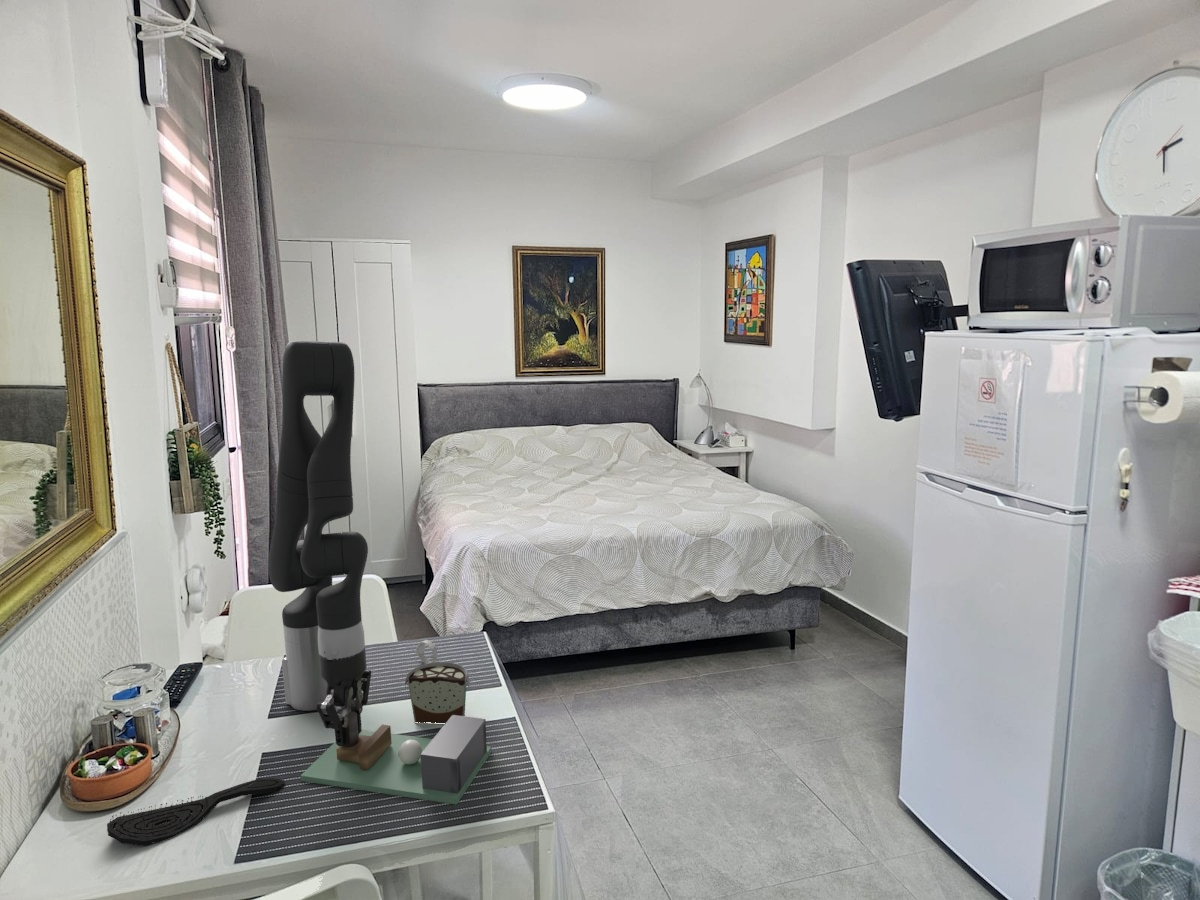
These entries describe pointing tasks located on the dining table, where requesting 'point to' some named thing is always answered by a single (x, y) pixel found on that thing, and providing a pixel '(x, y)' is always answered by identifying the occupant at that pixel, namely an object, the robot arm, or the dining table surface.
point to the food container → (437, 691)
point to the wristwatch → (421, 649)
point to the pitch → (383, 773)
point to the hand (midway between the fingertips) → (349, 738)
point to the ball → (410, 751)
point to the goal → (453, 754)
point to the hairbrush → (180, 815)
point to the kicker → (364, 744)
